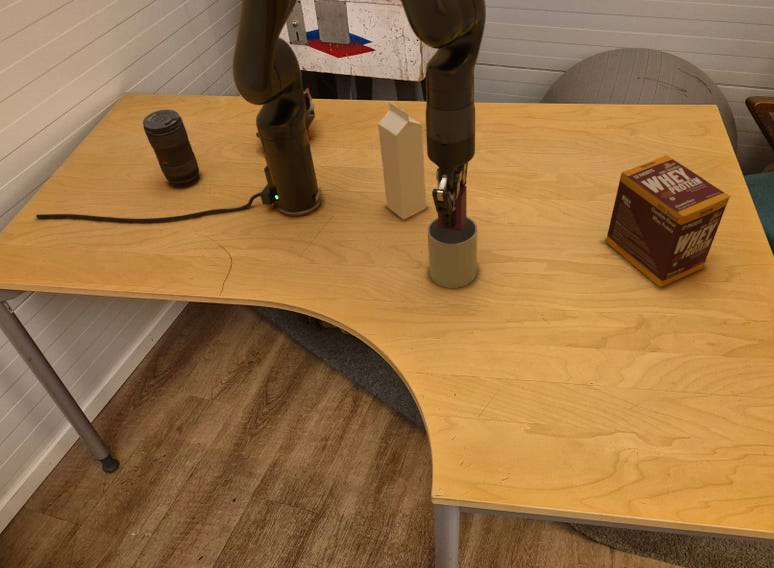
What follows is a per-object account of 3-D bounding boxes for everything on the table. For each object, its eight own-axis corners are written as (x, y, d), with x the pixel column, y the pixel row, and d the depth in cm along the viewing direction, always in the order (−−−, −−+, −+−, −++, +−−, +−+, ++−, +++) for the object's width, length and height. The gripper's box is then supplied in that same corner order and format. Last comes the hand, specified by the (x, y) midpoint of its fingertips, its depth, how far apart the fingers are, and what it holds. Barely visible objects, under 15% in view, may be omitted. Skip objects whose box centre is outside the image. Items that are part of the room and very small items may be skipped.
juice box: (438, 228, 109) (436, 183, 102) (443, 217, 111) (442, 172, 104) (461, 231, 108) (461, 186, 101) (466, 220, 110) (466, 175, 103)
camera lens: (159, 186, 142) (133, 125, 131) (180, 167, 147) (157, 106, 136) (188, 193, 140) (164, 130, 129) (209, 173, 145) (187, 111, 134)
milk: (403, 220, 129) (394, 119, 112) (386, 207, 132) (375, 107, 116) (427, 208, 131) (421, 108, 115) (409, 195, 135) (401, 96, 118)
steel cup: (423, 283, 116) (421, 240, 109) (437, 253, 122) (435, 210, 114) (469, 291, 114) (469, 248, 107) (481, 261, 119) (482, 218, 112)
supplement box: (660, 289, 112) (683, 216, 100) (604, 242, 121) (619, 170, 109) (704, 268, 115) (732, 196, 103) (647, 224, 124) (666, 153, 112)
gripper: (440, 102, 101) (443, 194, 114) (412, 148, 93) (419, 242, 106) (485, 107, 99) (483, 199, 112) (462, 155, 91) (462, 249, 104)
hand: (452, 219), depth 109 cm, fingers closed on juice box, 3 cm apart
